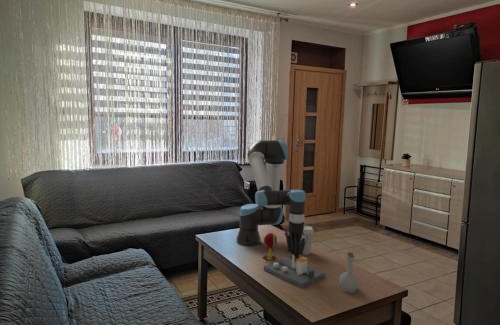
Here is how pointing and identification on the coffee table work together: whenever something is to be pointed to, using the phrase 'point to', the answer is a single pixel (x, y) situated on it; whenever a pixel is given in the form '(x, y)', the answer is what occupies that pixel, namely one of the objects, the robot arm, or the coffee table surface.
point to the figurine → (270, 248)
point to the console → (293, 273)
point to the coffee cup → (308, 233)
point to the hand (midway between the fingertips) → (294, 266)
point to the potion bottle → (349, 277)
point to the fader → (301, 265)
